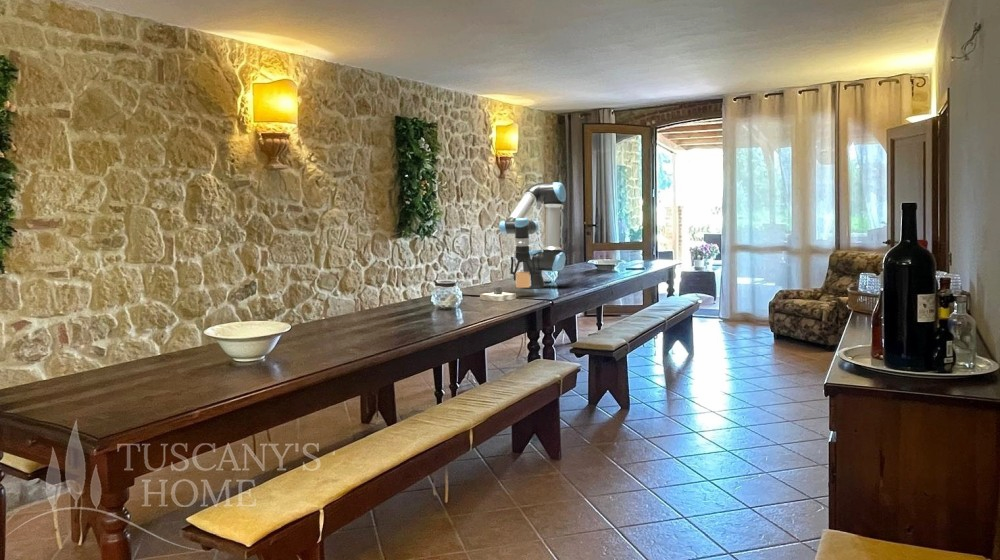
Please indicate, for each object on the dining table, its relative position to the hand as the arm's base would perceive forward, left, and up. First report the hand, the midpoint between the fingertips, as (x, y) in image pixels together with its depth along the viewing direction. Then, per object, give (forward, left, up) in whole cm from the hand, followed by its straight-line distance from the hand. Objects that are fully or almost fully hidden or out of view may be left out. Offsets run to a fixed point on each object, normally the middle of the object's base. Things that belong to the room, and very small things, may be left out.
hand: (523, 286), depth 395 cm
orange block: (0, 0, 0) cm, 0 cm away
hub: (+17, -2, -6) cm, 18 cm away
